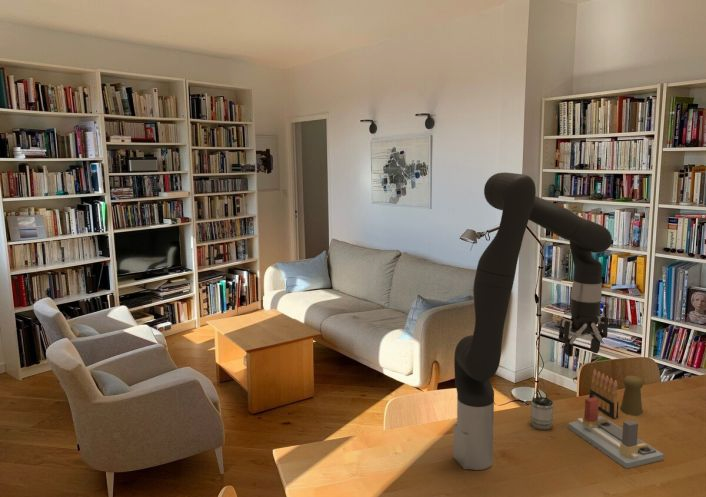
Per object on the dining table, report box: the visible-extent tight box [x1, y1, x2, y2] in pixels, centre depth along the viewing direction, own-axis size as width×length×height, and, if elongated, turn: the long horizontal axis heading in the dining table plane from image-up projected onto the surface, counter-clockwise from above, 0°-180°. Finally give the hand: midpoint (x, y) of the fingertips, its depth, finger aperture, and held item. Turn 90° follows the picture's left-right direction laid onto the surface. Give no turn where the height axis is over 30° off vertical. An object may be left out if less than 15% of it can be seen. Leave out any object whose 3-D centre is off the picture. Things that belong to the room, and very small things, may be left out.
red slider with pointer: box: [582, 397, 609, 428], centre depth 153 cm, size 7×3×8 cm, turn 107°
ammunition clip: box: [588, 368, 619, 420], centre depth 165 cm, size 11×2×12 cm, turn 16°
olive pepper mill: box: [619, 375, 644, 416], centre depth 165 cm, size 6×6×11 cm
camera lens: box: [530, 396, 555, 430], centre depth 158 cm, size 6×6×8 cm
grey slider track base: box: [567, 415, 665, 470], centre depth 147 cm, size 12×22×10 cm, turn 17°
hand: (581, 354), depth 150 cm, fingers open, 8 cm apart
